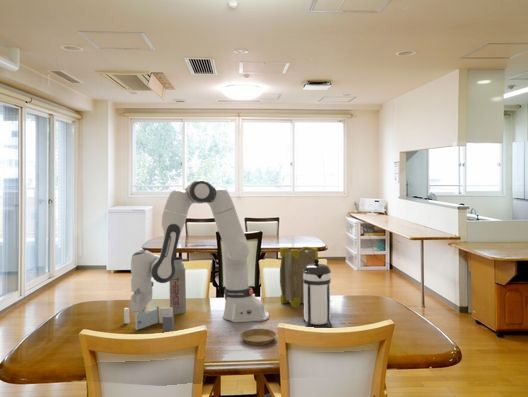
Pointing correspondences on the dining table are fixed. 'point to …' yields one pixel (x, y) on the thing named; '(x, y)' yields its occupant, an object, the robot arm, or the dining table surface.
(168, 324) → the block
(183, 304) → the thermos bottle
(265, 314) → the robot arm
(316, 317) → the coffee press
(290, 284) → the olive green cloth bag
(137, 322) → the door
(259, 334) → the plant saucer
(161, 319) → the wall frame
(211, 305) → the dining table surface
